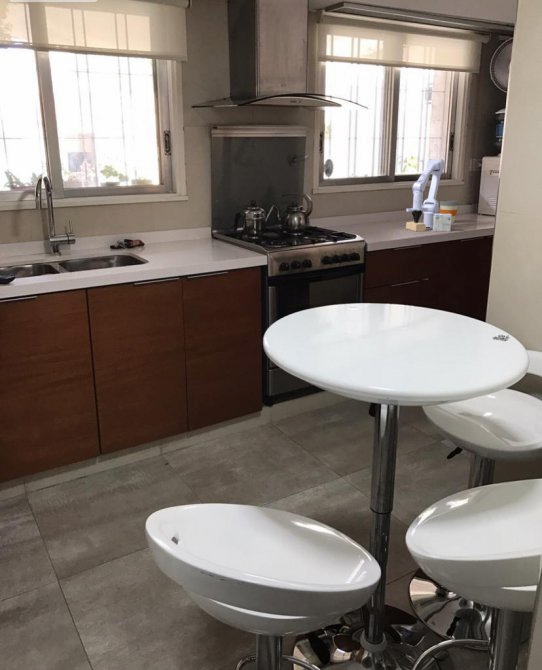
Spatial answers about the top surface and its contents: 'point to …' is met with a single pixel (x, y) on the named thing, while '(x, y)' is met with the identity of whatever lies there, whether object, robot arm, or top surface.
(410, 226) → the carton
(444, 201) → the reusable coffee cup
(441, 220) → the light bulb box
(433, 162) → the robot arm
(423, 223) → the lid
